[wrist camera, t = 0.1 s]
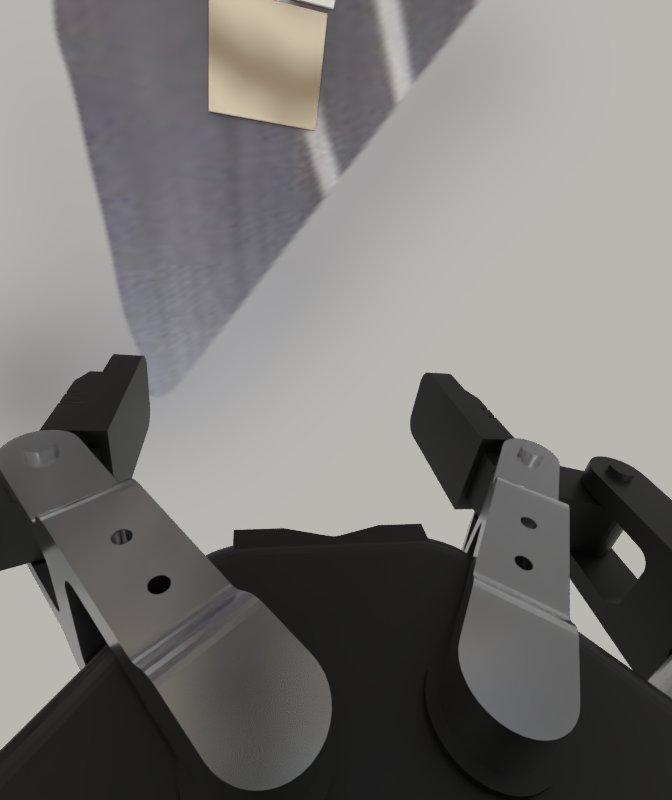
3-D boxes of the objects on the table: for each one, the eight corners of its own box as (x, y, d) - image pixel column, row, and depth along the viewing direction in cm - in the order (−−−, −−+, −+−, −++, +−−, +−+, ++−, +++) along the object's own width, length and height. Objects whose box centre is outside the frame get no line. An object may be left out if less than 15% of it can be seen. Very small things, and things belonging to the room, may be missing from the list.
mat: (209, -12, 29) (208, -16, 28) (325, 17, 31) (327, 13, 30) (209, 111, 32) (208, 110, 31) (313, 130, 34) (315, 130, 33)
